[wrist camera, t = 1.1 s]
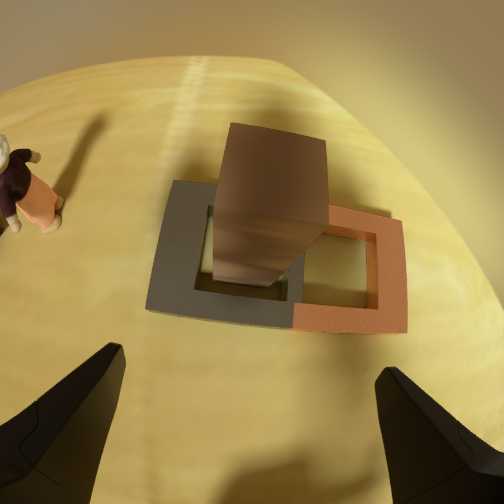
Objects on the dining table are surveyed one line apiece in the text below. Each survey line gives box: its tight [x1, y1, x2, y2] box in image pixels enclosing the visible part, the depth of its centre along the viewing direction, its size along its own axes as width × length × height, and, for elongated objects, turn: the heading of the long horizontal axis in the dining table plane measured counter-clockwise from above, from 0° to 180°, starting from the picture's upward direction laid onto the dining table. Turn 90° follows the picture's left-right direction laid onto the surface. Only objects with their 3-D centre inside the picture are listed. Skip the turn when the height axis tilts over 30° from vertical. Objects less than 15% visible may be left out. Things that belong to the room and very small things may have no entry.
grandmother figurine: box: [0, 134, 64, 234], centre depth 16 cm, size 8×4×13 cm, turn 18°
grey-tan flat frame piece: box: [145, 180, 407, 334], centre depth 23 cm, size 22×11×2 cm, turn 84°
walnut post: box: [213, 122, 329, 289], centre depth 17 cm, size 4×4×13 cm
